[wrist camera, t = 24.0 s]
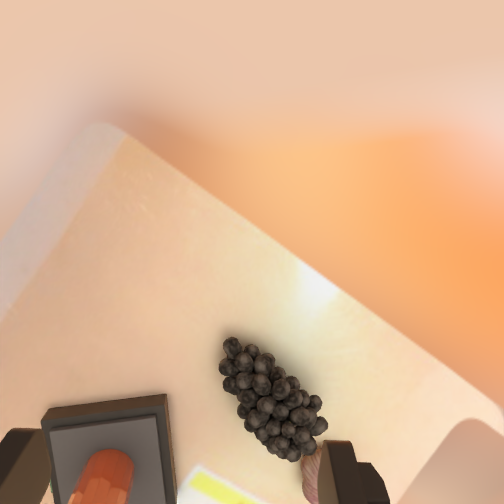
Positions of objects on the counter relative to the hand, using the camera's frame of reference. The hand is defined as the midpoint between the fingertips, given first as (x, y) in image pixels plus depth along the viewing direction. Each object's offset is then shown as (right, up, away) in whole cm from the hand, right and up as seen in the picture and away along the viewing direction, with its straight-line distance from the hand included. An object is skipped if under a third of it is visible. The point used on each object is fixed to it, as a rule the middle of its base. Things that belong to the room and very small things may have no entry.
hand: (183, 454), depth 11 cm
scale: (-14, -18, +35) cm, 41 cm away
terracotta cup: (-14, -18, +32) cm, 39 cm away
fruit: (+3, -9, +36) cm, 37 cm away
